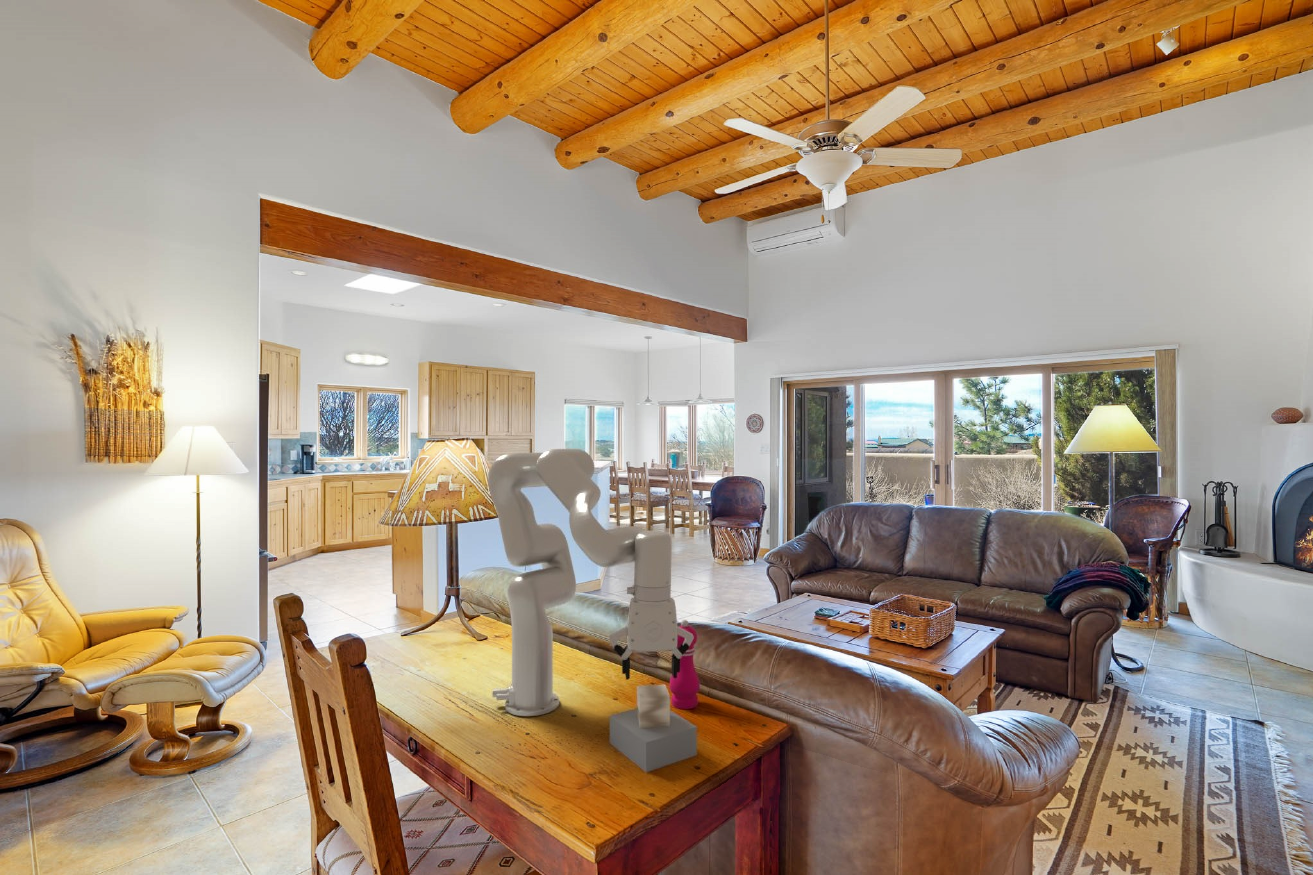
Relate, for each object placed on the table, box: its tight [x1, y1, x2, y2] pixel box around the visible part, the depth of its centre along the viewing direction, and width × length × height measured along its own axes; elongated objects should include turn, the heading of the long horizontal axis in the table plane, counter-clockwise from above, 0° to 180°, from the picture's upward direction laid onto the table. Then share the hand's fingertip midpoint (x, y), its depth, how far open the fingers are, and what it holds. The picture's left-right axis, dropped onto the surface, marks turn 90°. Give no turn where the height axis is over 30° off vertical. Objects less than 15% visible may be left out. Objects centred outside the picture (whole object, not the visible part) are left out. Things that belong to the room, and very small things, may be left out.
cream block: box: [636, 684, 671, 728], centre depth 128 cm, size 6×6×6 cm
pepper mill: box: [668, 619, 701, 710], centre depth 150 cm, size 7×7×20 cm
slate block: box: [609, 707, 698, 773], centre depth 128 cm, size 12×14×6 cm
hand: (650, 676), depth 128 cm, fingers open, 9 cm apart
